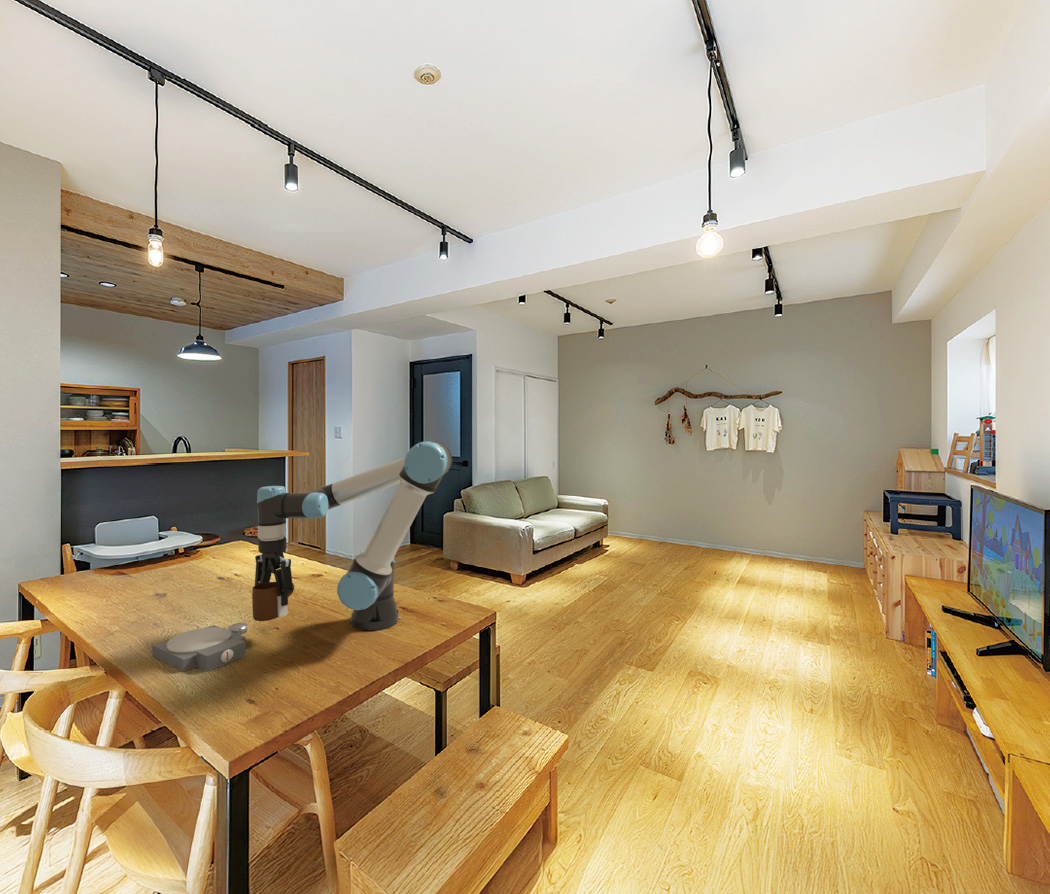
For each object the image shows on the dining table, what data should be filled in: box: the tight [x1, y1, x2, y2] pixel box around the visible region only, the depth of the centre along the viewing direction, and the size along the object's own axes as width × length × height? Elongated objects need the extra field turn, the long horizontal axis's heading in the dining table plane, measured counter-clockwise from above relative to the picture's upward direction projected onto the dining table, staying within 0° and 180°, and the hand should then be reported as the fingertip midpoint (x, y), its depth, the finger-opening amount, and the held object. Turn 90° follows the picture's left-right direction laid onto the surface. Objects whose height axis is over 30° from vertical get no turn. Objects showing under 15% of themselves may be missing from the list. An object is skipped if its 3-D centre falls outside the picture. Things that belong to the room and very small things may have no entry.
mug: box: [251, 581, 295, 622], centre depth 144 cm, size 12×8×9 cm, turn 143°
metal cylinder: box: [227, 622, 248, 636], centre depth 148 cm, size 5×5×2 cm
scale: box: [151, 624, 247, 672], centre depth 133 cm, size 21×16×4 cm
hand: (274, 613), depth 144 cm, fingers closed on mug, 7 cm apart
